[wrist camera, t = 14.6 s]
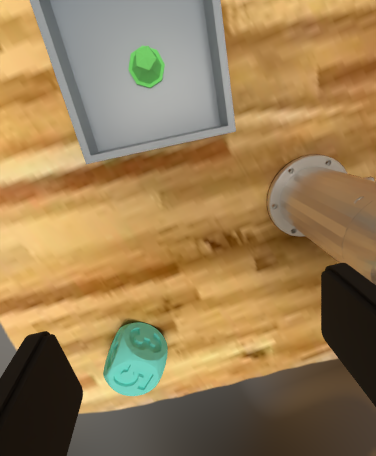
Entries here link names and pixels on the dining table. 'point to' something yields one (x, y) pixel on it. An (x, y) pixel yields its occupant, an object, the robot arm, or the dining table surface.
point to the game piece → (146, 66)
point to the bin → (122, 79)
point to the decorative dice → (135, 359)
